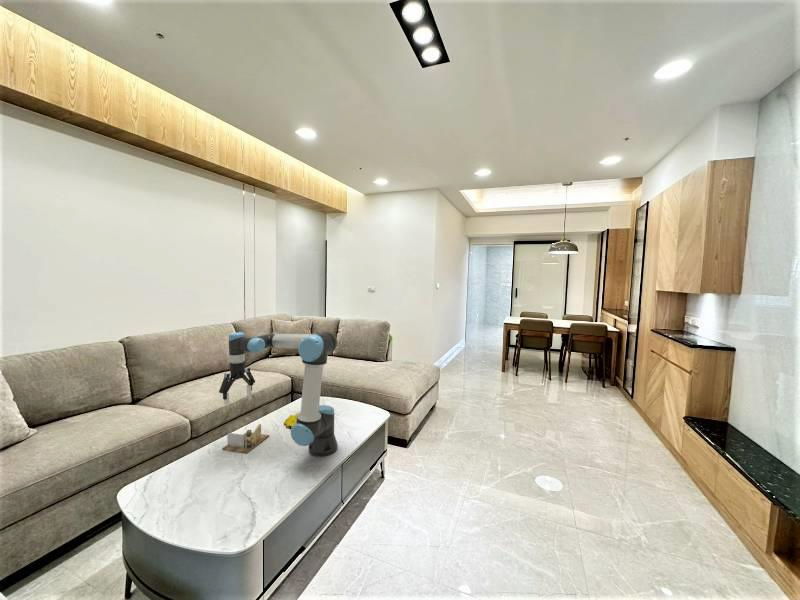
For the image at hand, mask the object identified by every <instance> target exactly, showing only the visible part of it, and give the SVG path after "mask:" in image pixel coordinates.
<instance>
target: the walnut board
mask: <svg viewBox="0 0 800 600" xmlns="http://www.w3.org/2000/svg"><path fill="white" fill-rule="evenodd" d="M242 435H245V449H240V448H233V447H228V445H227V444H226V445H225V446H223V447H222V448H221V449H222V451H226V452H227V451H228V452H233V453H238V454H249V453H250V452H251V451H252V450H254V449H256V448H257V447H259V445H261V444H262V443H263V442H264V441H266V440H267V439H269V438H270V434H265V433H264V434H263V433H261V437H260V439H259V440H258V442H257V443H256V445H253V432H252V447H250V448H247V431H246V432H245V433H243V434H242Z"/></svg>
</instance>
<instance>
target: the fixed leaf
mask: <svg viewBox="0 0 800 600" xmlns="http://www.w3.org/2000/svg"><path fill="white" fill-rule="evenodd" d="M246 432H247V436H251V435H252V433H253V432H252V429H247V430H246ZM226 437H227V438H226V439H227V444H226V445H228V447H233V448H240V449H245V435H243V434H239V433H232V432H228V433H227V435H226ZM250 447H252V441H251V442H249V443H248V442H247V448H250Z"/></svg>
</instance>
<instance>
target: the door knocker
mask: <svg viewBox="0 0 800 600" xmlns="http://www.w3.org/2000/svg"><path fill="white" fill-rule="evenodd" d="M298 413H299V412H298ZM298 413H295V414H294V415H292V414H290V415H289V416H288V417H287V418H286V419H285V420H284V422H283V425H284V426H285V427H286V428H288V427H290V428H292V427H293V425H295V424H296V420H297V414H298Z"/></svg>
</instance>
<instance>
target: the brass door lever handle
mask: <svg viewBox="0 0 800 600" xmlns="http://www.w3.org/2000/svg"><path fill="white" fill-rule="evenodd" d="M252 433H253V445H256V443H257V442H258V440H259V439H260V437H261V434H262V424H261V423H258V425H257V426H256V428H255V429H254V431H253V432H252ZM251 441H252V435H251V436H247V442H248V443H249V442H251Z"/></svg>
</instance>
